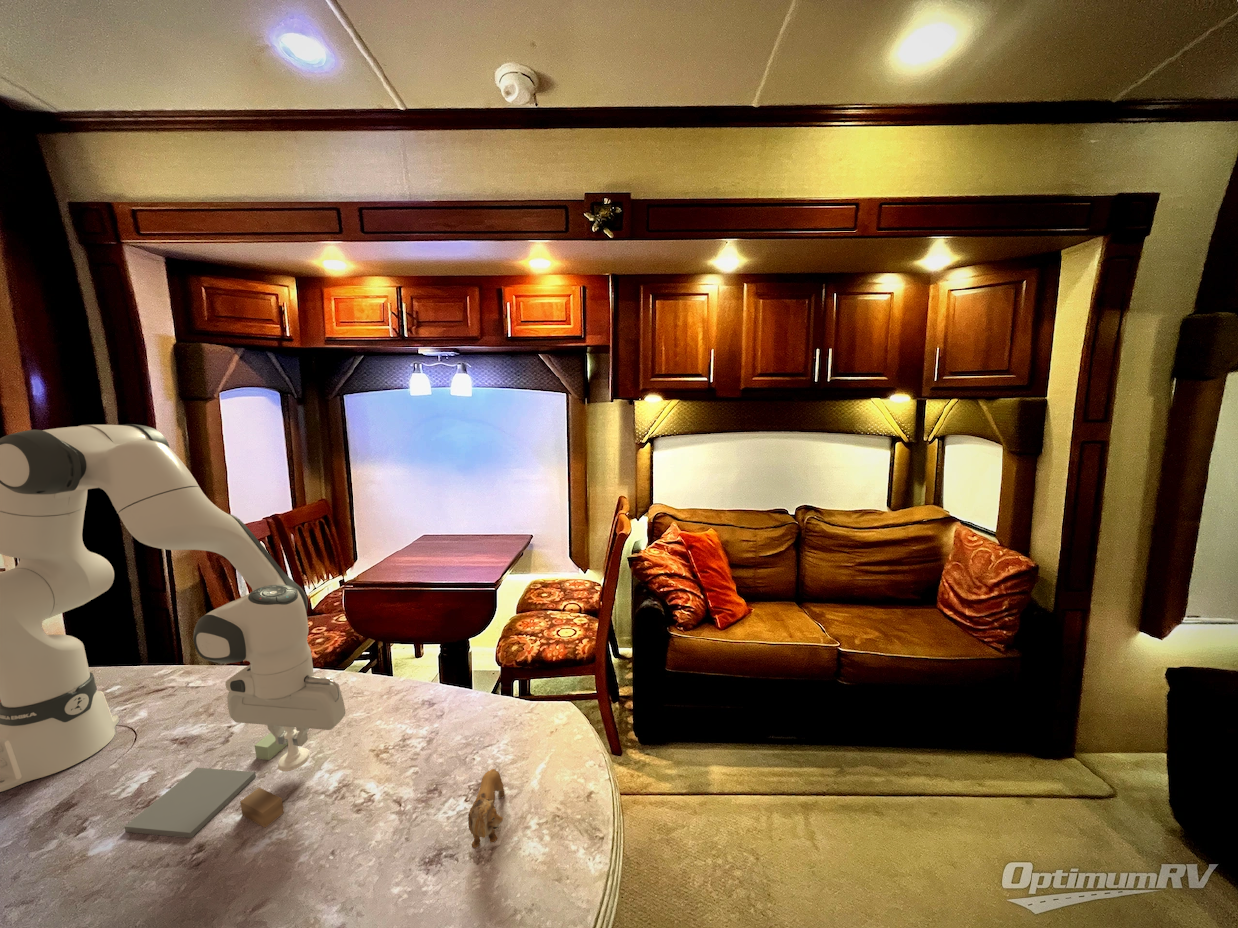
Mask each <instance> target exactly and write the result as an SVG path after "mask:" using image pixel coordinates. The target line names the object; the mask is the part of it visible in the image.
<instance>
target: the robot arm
mask: <svg viewBox="0 0 1238 928" xmlns="http://www.w3.org/2000/svg"><path fill="white" fill-rule="evenodd" d="M92 489H100V490H103V491H104V492H105V493H106V495H107V496H108V498H109V500H110V502H111V504H112V506H113V507H114V510H115V511H116V514H118V517H119V519H120V521H122V523H123V525H124V527H125V528H126V530H127V531H128V533H130V535H131V536H132V537H133V538H134V539H135V540H137V541H138V542H139V543H141V544H143V545H145V546H147V547H152V548H156V549H161V550H168V551H186V550H187V551H190V550H191V551H205V552H211V553H216V554H218V555H220V556H222V557H224V558H225V559H227V560H228V561H229V562H230V564H231V565H232V566H233V567H234V569H236V571H237V572H238V573H239V575H240V576H241V577H242V578H243V579H244V581H245V582H246V583H247V584H248V586H249V587H250V588H251V590H252V591H250V593H248V594H246V595H243V596H241V597H239V598H236V599H235V600H232V601H229V602H227V603H225V604H223V605H221V606H218V607H216V608H215V609H213V610H210V611H209V612H207V613H206V614H204V615H202V616H200V617H199V619H198V620H197V622H196V624H195V626H194V629H193V637H192V638H193V645H194V647H195V650H196V652H197V654H198V655H199V657H200V658H202V659H204V660H206V661H209V662H213V663H220V664H226V663H227V664H230V663H231V664H232V663H239V662H241V663H242V662H243V661H247V662H249V663H250V664H249V665H247V666H245V667H244V668H242V669H241V670H239V671H238V672H236V673H235V674H233V675H232V676H231V677H229V678H228V679H227V680H226V681H225V684H224V685H225V688H226V690H227V691H228V693H227V697H226V699H227V709H228V713H229V718H231V719H232V721H234V723H238V724H239V723H242V724H252V725H262V726H263V725H264V726H265V725H266V726H267V729H268V731H269V733H272V734H273V736H274V737H275V740H276V744H281V745H285V744H286V742H288V739H285V738H284V734H285V733H286V730H285V728H284V727H283V726H286V727H295V729H296V731H298V733H297V735H296V736H294V737H293V738H292V740H293V742H294V743H293V745H294V746H298V747H303V746H304V745H305V744H306V743H307V741H308V740H309V739H308V732H309V730H310V729H313V730H324V731H330V730H333V729H334V728H335V727H336V726H337V725H338V724H339V723H340V722H341V721H342V720H343V719H344V717H346V706H345V702H344V697H343V694H342V691H341V688H340V685H339V683H337V682H336V681H334V680H333V679H332V678H331V677H327V676H324V677H321V676H320V677H319V676H315V675H314V665H313V657H312V656H313V655H312V650H311V646H310V645H309V642H308V637H309V636H308V635H309V632H310V630H309V629H310V628H309V623H308V622H309V620H308V615H307V614H308V613H307V612H308V606H309V603H308V602H309V601H308V597H307V594H306V592H305V591H304V589H303V587H302V586H300V585H299V584H298V583H296V582H295V581H294V580H293V579H292V578H290V577H289V576H288V575H287V574H286V573H285V571H284V570H283V569H282V568H281V566H280V565H279V564H278V563H277V562H276V560H275V559H274V558H273V556H272V555H271V554H270V553H269V551H267V550H266V547H264V545H263V544H262V543H261V542H260V541H259V539H258V538H257V537H256V535H255V534H254V533H253V532H252V531H251V530H250V528H248V527H249V526H247V525H246V524H245V523H244V522H243V521H242V520H241V519H239V518H238V517H237V516H235V515H233V514H232V513H227V512H225V511H224V510H223V509H221V508H219V507H218V506H217V505H216V504H214V503H213V502H212V501H211V500H210V499H209V498H208V496H207V495H206V494H205V493H204V491H203V490H202V489H201V487H200V485H199V484H198V482H197V480H196V478H195V477H194V476H193V474H192V473H191V471H190V470H189V469H188V467H187V466H186V465H185V463H184V462H183V460H181V459H180V457H179V456H178V455H177V454H176V453H175V452H174V451H173V450H172V448H171V447H170V445H169V442H168V440H167V438H166V437H165V436H164V435H163V434H162V432H160V431H159V430H158V429H157V428H154V427H151V426H147V425H142V424H134V423H125V424H81V425H78V426H67V427H56V428H49V429H43V430H42V429H29V430H24V431H18V432H14V433H10V434H7V435H4V436H1V437H0V555H3V556H5V557H10V558H15V559H19V562H18V563H17V565H16V566H15V567H14V568H10V569H9V570H5V571H2V572H0V793H1V792H2V793H3V792H5V791H7V790H11V789H12V788H15V787H17V786H19V785H22V784H25V783H28V782H30V781H33V780H37V779H40V778H45V777H48V776H52V775H54V774H56V773H58V772H62V771H63V770H66V769H68V768H71V767H73V766H74V765H77V764H79V763H81V762H82V761H84V760H86V759H88V758H89V757H92V756H94V755H95V754H96V753H98V752H99V751H100V750H102V749H103V748H104V747H106V746H107V745H108V744H109V743H110V742H112V740H113V738H115V737H114V736H115V734H116V729H115V728H116V726H117V725H118V723H119V722H120V718H119V715H112V713H111V710H110V708H109V704H108V702H107V698H106V697H105V694H104V693H103V692H104V691H101V690H98V688H97V680H96V678H95V676H94V673H92V672H91V671H90V667H89V663H88V659H87V653H86V650H85V649H86V648H85V645H84V643H83V641H81V640H80V639H78V638H77V637H75V636H73V635H67V634H48V633H46V631H45V630H44V627H43V622H44V621H46V620H48V619H50V618H53V617H55V616H58V615H61V614H63V613H65V612H68V611H71V610H74V609H76V608H79V607H81V606H84V605H85V604H87V603H89V602H91V600H94V599H96V598H97V597H99V596H101V595H102V594H105V592H107V591H109V589H110V588H111V587H112V586H113V583H114V580H115V570H114V567H113V566H112V564H111V563H110V561H109V560H108V559H107V558H105V557H104V556H102V555H101V554H98V553H96V552H93V551H90V550H89V549H87V547H86V546H85V544H84V541H83V529H84V520H85V511H86V506H87V500H88V490H92Z"/></svg>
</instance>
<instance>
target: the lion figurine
mask: <svg viewBox="0 0 1238 928" xmlns="http://www.w3.org/2000/svg"><path fill="white" fill-rule="evenodd" d="M496 792H498V794H497V796H498V798H500V799H502V797H503V796H504V797H505V791H504V783H503V781H502V778H501V775H500V772H499V771H498V770H496V769H495V768H492V769H490V770H488V771H487V772H485V773H484V775H483V776H482V778H481V782H480V787H479V791H478V792H477V795H476V797H475V800H474V802H473V803H472V806H471V807H470V809H469V812H468V815H467V816H468V818H467V819H468V821H467V822H468V829H469V831H470V833H471V835H472V837H473V841H472V843H471V847H472V848H473V849H477V848H479V847H480V845H481V838H482V839H485V838H486V837H488V840H489V842H490V843H492V844H493V843H494V842H496V841H497V840H498V835H497V834H496V831H495V830H498V829H499V827H500V826H501V824H502V822H503V819H504V817H503V816H501V815H499V814H498V812H497V809H496V806H495V801H496ZM504 797H503V798H504Z"/></svg>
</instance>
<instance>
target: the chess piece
mask: <svg viewBox="0 0 1238 928" xmlns="http://www.w3.org/2000/svg"><path fill="white" fill-rule="evenodd" d="M283 727H284V728H285V730H286V733H285V734H284V738H285V739H288V745H287V752H286V753H285V754H283V755H282V756H281V757H280V758H279V760H278V763H277V769H278V770H279V771H281V772H292V771H294V770H297V769H299V768H301V767H302V766H303V765H305V764H306V763H307V762H308V761H309V759H310V758H311V753H310V750H309V749H308V748H306V747H299V746H294V745H293V743H294V742H293V740H292V738H293V737H294V736H296V735H297V733H299V731H296V727H286V726H283ZM294 728H295V729H294Z"/></svg>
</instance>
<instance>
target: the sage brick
mask: <svg viewBox="0 0 1238 928" xmlns="http://www.w3.org/2000/svg"><path fill="white" fill-rule="evenodd" d="M294 729H296V727H295V728H294ZM285 747H288V742H286V744H285V745H281V744H276V740H275V737H274V736H273V734H272V733H271V732H269V733H268V734H267V735H266V736H264V737H263V738H262V739H261V740H260V741H258V742H257V743H255V744H254V750H255V757H256V759H260V760H266V761H270V760H271V759H272V758H273V757H275V756H276V755H277V754H279V753H280V752H281V751H282V750H283V749H285Z"/></svg>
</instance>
